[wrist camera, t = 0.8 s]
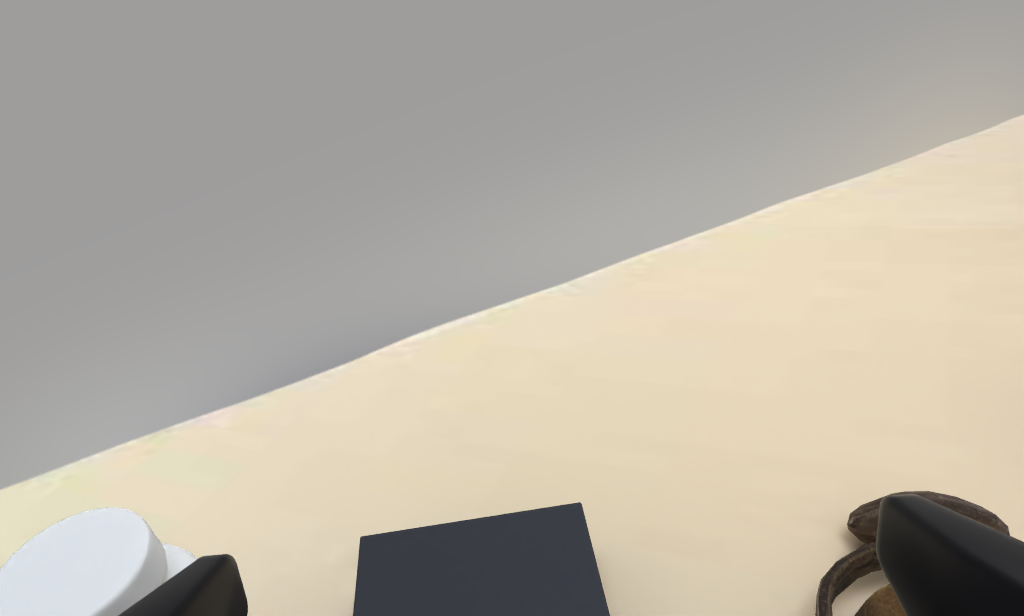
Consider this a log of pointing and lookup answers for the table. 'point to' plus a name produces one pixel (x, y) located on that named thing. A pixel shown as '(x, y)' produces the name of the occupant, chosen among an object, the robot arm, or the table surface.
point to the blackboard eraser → (483, 568)
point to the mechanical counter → (883, 606)
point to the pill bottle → (88, 566)
